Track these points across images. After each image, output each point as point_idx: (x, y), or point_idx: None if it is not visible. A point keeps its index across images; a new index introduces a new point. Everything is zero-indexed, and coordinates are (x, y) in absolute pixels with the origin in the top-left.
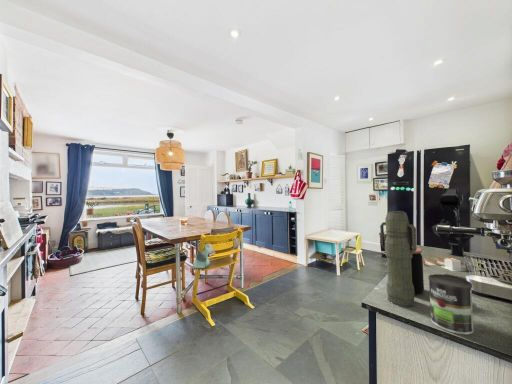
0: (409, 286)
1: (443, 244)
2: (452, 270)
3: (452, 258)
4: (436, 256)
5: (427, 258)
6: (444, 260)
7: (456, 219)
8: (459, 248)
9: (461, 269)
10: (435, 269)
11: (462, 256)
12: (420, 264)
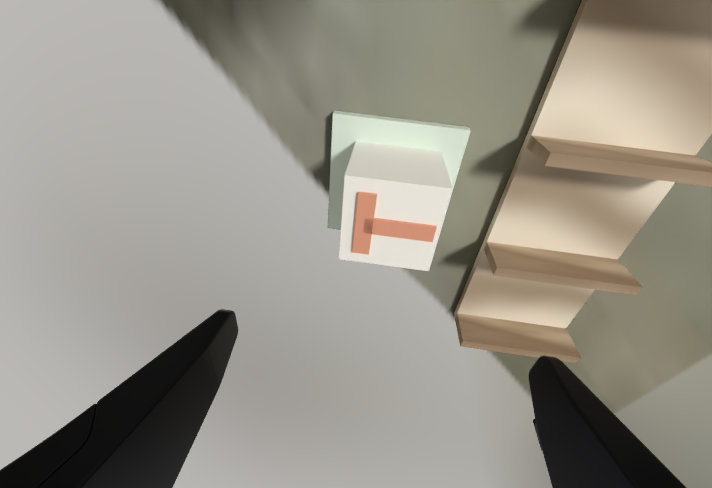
0: None
1: (552, 381)
2: (343, 125)
3: (423, 266)
4: (620, 283)
5: (670, 164)
6: (448, 178)
7: None
8: (197, 327)
9: None
10: (449, 5)
11: (534, 424)
12: None
